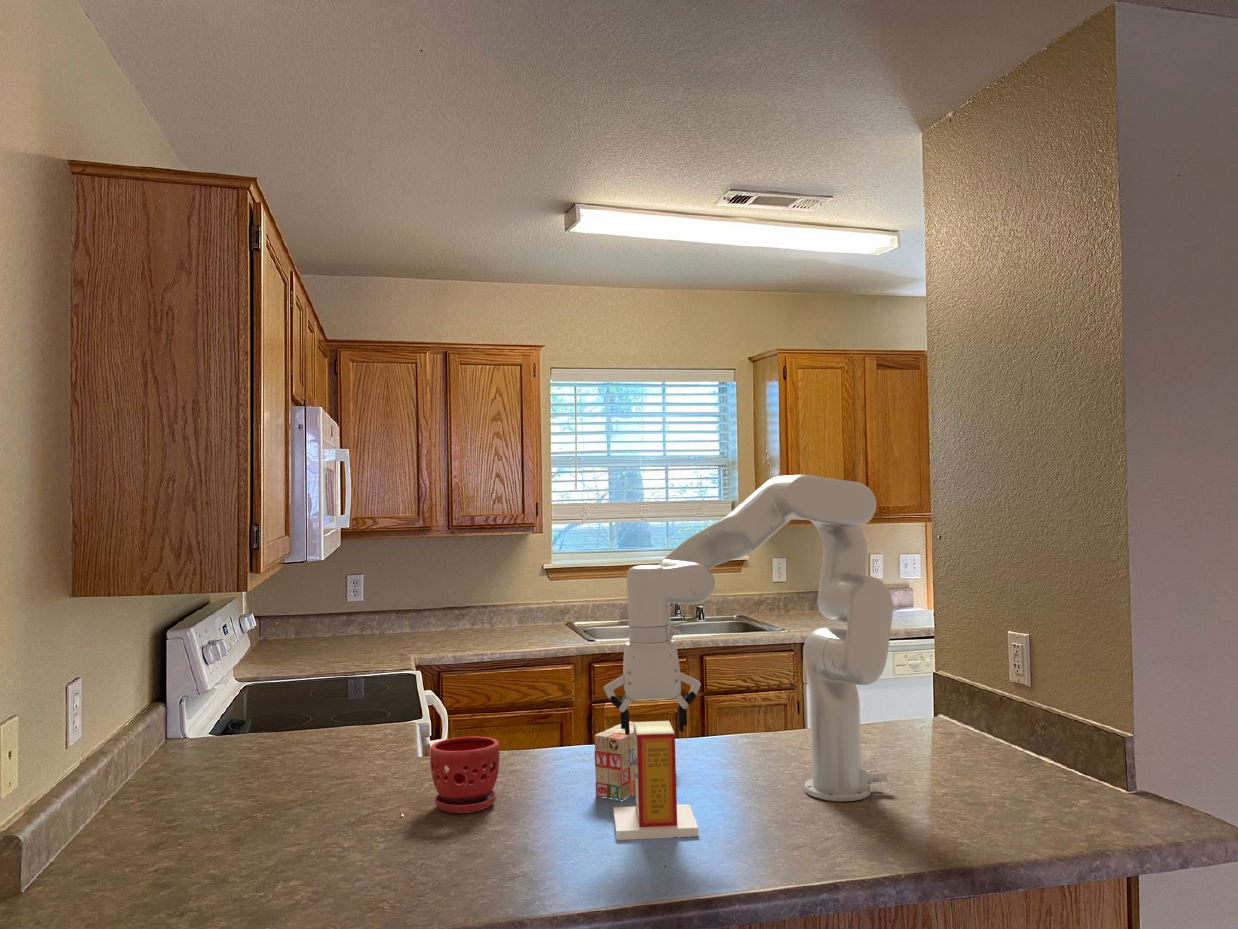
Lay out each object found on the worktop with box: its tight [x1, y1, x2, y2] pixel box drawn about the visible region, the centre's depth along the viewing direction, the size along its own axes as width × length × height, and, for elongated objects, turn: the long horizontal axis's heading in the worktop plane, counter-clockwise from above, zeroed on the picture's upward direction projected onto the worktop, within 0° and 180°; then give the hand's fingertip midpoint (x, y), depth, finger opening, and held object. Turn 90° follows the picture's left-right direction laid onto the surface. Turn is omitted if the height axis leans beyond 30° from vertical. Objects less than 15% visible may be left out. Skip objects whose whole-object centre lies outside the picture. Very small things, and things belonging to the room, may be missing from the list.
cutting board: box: [612, 803, 699, 841], centre depth 159 cm, size 14×12×2 cm
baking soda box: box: [633, 720, 678, 827], centre depth 159 cm, size 10×6×16 cm
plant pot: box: [429, 736, 500, 814], centre depth 172 cm, size 13×13×12 cm
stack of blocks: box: [594, 720, 635, 801], centre depth 183 cm, size 21×6×12 cm, turn 148°
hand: (654, 731), depth 160 cm, fingers open, 9 cm apart
